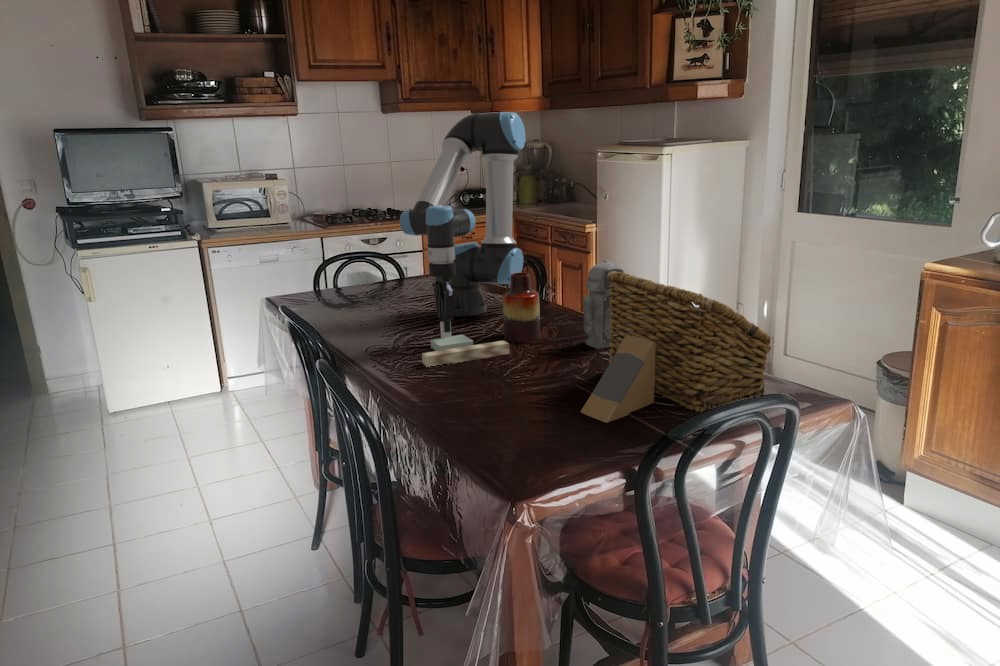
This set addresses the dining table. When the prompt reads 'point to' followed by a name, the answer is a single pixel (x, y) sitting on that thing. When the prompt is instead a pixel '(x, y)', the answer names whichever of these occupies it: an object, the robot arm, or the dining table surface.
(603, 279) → the figurine
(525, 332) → the vase
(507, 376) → the dining table surface
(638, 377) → the sandwich container
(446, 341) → the block
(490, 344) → the curved wooden bar
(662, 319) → the basket
